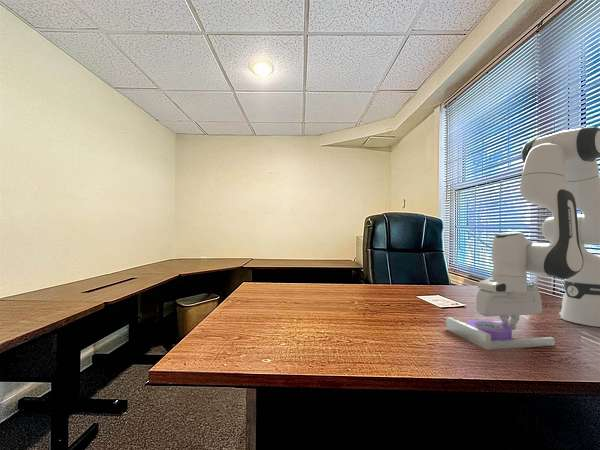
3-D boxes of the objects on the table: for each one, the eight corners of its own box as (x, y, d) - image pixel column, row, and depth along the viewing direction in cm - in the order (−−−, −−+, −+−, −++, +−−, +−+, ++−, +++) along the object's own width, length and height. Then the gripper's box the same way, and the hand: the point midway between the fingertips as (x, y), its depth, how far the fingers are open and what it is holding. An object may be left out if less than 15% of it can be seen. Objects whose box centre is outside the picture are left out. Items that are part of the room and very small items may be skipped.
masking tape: (457, 333, 96) (457, 321, 96) (486, 330, 99) (486, 318, 99) (490, 346, 85) (490, 332, 85) (521, 342, 88) (521, 329, 88)
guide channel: (504, 326, 103) (504, 315, 103) (554, 345, 86) (554, 331, 86) (446, 329, 99) (446, 317, 99) (486, 349, 82) (486, 334, 83)
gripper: (529, 281, 98) (529, 324, 98) (472, 283, 95) (472, 327, 95) (547, 285, 92) (548, 331, 92) (488, 286, 89) (488, 334, 89)
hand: (509, 329), depth 93 cm, fingers closed
